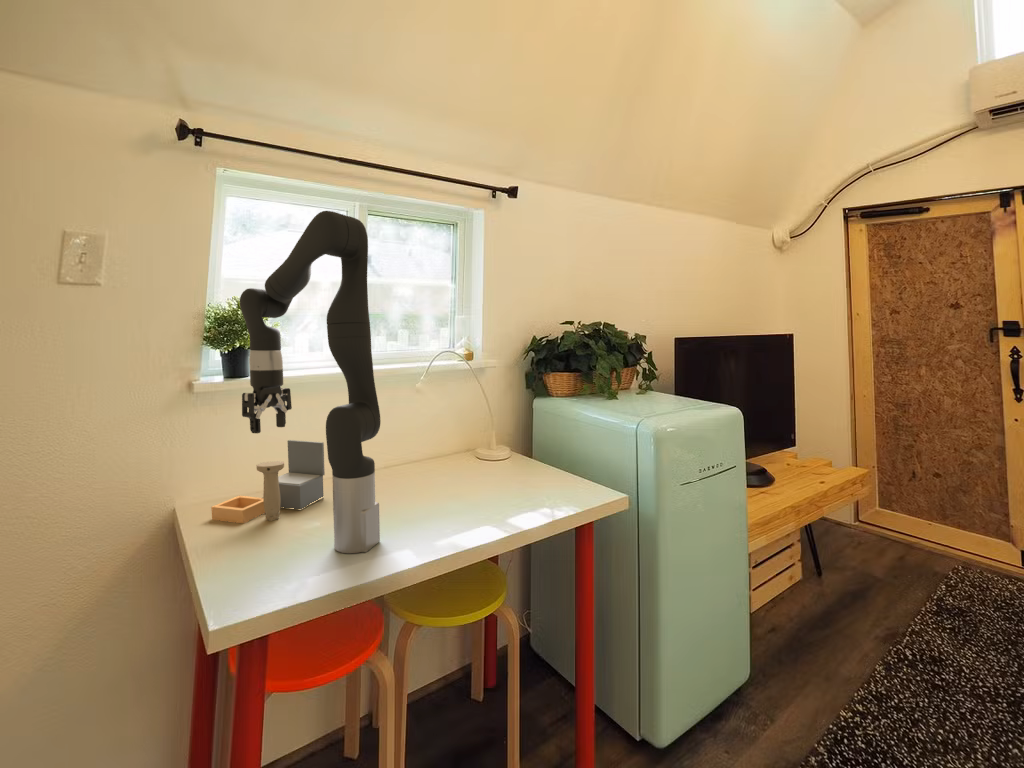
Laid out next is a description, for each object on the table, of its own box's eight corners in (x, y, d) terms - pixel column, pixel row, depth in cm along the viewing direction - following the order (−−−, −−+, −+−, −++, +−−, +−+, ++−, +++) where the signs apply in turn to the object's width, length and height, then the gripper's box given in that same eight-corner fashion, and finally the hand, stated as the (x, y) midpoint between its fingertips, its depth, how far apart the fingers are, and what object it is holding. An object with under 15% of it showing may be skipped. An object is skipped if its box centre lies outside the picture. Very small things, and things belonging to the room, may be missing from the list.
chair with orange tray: (325, 497, 136) (323, 442, 134) (269, 526, 114) (266, 461, 113) (275, 492, 140) (272, 438, 138) (212, 519, 118) (208, 456, 117)
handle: (284, 521, 118) (281, 465, 116) (256, 523, 116) (254, 467, 115) (287, 514, 122) (285, 460, 121) (261, 516, 121) (259, 462, 119)
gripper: (256, 370, 108) (259, 436, 109) (298, 366, 121) (300, 425, 123) (231, 369, 109) (234, 434, 111) (274, 366, 123) (277, 424, 125)
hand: (269, 429), depth 117 cm, fingers open, 8 cm apart
